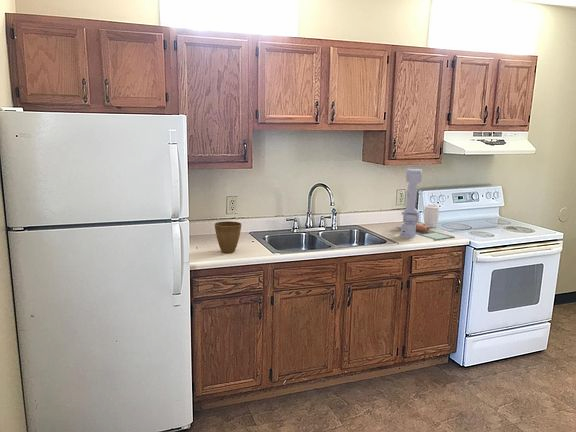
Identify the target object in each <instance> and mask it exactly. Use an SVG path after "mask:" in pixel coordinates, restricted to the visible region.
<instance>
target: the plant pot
mask: <svg viewBox="0 0 576 432" xmlns="http://www.w3.org/2000/svg"><path fill="white" fill-rule="evenodd" d="M241 229H242V223H241V222H238V221H230V220H228V221H227V220H225V221H217V222H216V223H214V230H215V235H216V240H217V243H218V246H219V248H220V251H221V253H223V254H234V253H235V251H236V249H237V246H238V244H239V239H240V237H241V231H242V230H241Z"/></svg>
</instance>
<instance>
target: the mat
mask: <svg viewBox="0 0 576 432" xmlns="http://www.w3.org/2000/svg"><path fill="white" fill-rule="evenodd" d="M415 235H416V236H421V237H425V238H427V239H432V240H433V241H434V242H435V241H442V240H448V239H455V236H453V235H449V234H445V233H443V232H439V231H435V230H431V229H429V233H421V232H418V231H416V233H415Z"/></svg>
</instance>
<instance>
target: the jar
mask: <svg viewBox="0 0 576 432" xmlns="http://www.w3.org/2000/svg"><path fill="white" fill-rule="evenodd" d="M439 208H440V206H439V205H435V204H434V205H433V204H424V211H423V222H424V223H423V224H425V226H427V227H430V228H436V227H437V223H438V219H439V215H440V214H439V213H440V210H439Z"/></svg>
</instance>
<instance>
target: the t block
mask: <svg viewBox="0 0 576 432" xmlns="http://www.w3.org/2000/svg"><path fill="white" fill-rule="evenodd" d="M430 228H431V227H427V226H425V223H422V222H418V223H416V231H418V232H421V233H429V230H431V229H430Z"/></svg>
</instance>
